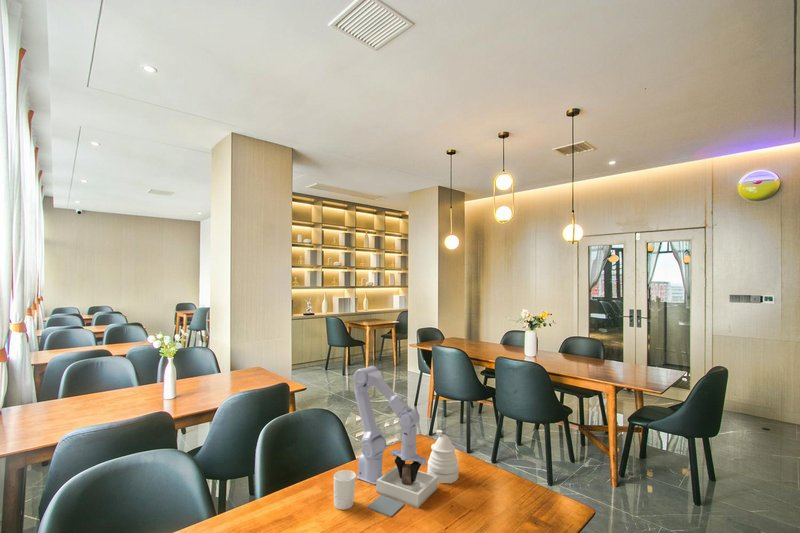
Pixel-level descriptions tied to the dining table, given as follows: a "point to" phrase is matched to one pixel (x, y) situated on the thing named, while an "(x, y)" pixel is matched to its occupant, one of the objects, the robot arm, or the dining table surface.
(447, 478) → the honey pot
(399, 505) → the slate pad
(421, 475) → the grey crate
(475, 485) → the dining table surface
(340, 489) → the white cup
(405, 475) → the walnut cylinder
